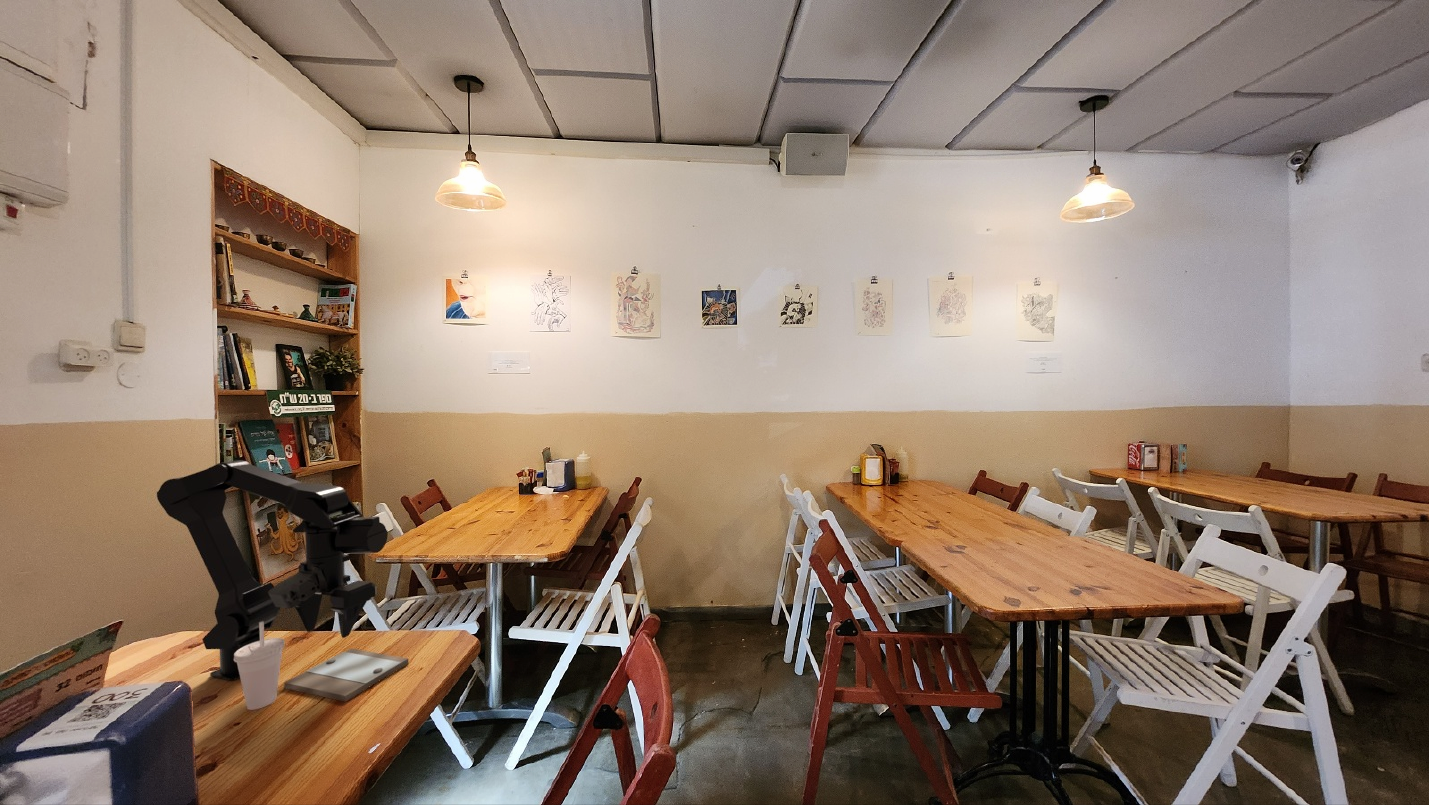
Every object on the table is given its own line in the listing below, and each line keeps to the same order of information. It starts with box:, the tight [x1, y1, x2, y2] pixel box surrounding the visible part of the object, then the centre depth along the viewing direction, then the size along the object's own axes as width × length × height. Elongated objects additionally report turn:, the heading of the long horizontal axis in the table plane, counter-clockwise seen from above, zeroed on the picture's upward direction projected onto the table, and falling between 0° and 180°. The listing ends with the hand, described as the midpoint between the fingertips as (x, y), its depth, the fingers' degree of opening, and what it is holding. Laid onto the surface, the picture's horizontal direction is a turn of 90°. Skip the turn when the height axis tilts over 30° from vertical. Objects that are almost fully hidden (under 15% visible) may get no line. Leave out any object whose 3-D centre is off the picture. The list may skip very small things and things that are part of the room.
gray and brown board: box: [283, 648, 409, 702], centre depth 90 cm, size 15×12×1 cm
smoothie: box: [234, 621, 286, 711], centre depth 82 cm, size 6×6×14 cm
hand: (327, 633), depth 93 cm, fingers open, 9 cm apart
